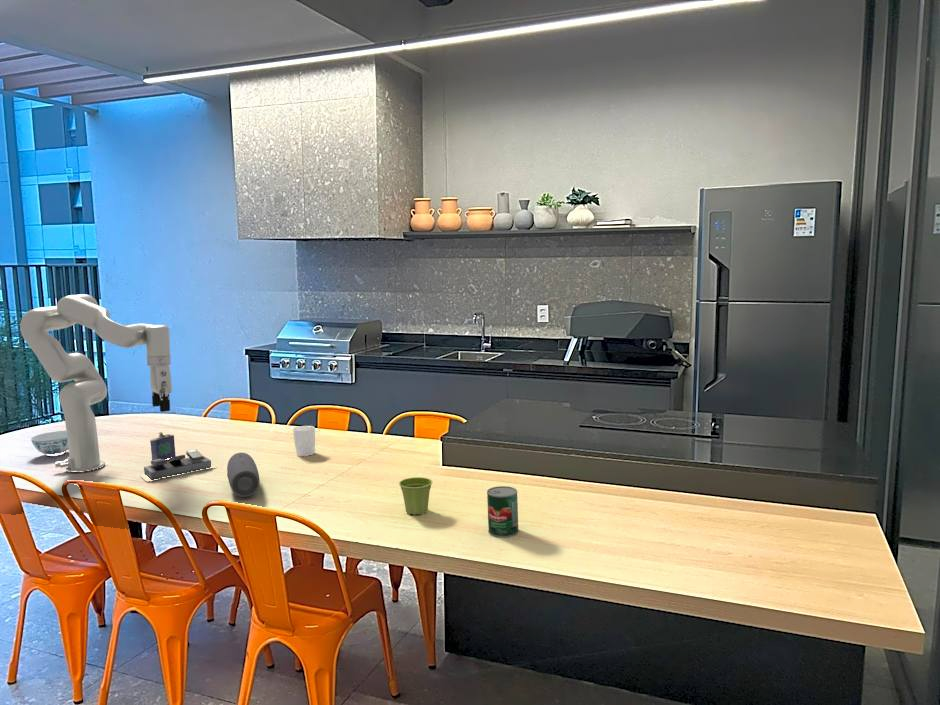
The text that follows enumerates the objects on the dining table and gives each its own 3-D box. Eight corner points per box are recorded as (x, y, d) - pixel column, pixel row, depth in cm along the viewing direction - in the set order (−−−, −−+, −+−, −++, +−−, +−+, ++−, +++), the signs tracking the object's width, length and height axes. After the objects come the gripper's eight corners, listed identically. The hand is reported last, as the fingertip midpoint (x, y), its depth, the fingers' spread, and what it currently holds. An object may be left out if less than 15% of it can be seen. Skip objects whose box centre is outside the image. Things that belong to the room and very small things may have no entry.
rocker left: (156, 465, 242) (156, 461, 242) (151, 464, 247) (150, 460, 247) (167, 463, 244) (167, 459, 244) (162, 462, 249) (161, 458, 249)
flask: (154, 464, 260) (152, 435, 259) (150, 463, 262) (147, 434, 260) (177, 458, 268) (174, 430, 266) (172, 457, 269) (170, 429, 268)
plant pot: (416, 503, 209) (415, 475, 208) (440, 510, 203) (439, 480, 202) (393, 513, 202) (392, 483, 201) (417, 520, 196) (416, 489, 195)
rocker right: (192, 461, 249) (192, 457, 249) (186, 454, 254) (186, 451, 254) (203, 459, 251) (203, 455, 251) (196, 452, 256) (196, 449, 256)
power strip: (147, 482, 238) (146, 472, 238) (139, 475, 247) (138, 466, 246) (216, 467, 253) (215, 458, 252) (206, 461, 261) (206, 452, 260)
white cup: (313, 456, 263) (311, 430, 261) (292, 457, 263) (290, 431, 261) (318, 451, 270) (316, 425, 269) (298, 451, 271) (296, 425, 269)
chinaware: (63, 459, 271) (61, 439, 270) (24, 460, 271) (22, 441, 270) (85, 448, 286) (83, 430, 285) (48, 450, 286) (46, 431, 285)
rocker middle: (174, 460, 245) (173, 456, 245) (169, 462, 251) (168, 458, 251) (185, 458, 247) (184, 454, 248) (180, 460, 253) (179, 456, 253)
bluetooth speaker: (227, 482, 236) (224, 452, 235) (256, 478, 240) (253, 449, 238) (230, 503, 215) (227, 471, 214) (262, 498, 219) (259, 467, 217)
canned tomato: (517, 525, 190) (516, 485, 188) (520, 536, 182) (519, 495, 181) (487, 526, 190) (486, 486, 188) (489, 538, 182) (487, 496, 180)
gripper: (177, 362, 244) (179, 411, 247) (163, 356, 258) (165, 402, 260) (154, 364, 240) (156, 414, 242) (141, 358, 253) (143, 405, 256)
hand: (161, 408), depth 251 cm, fingers open, 9 cm apart
